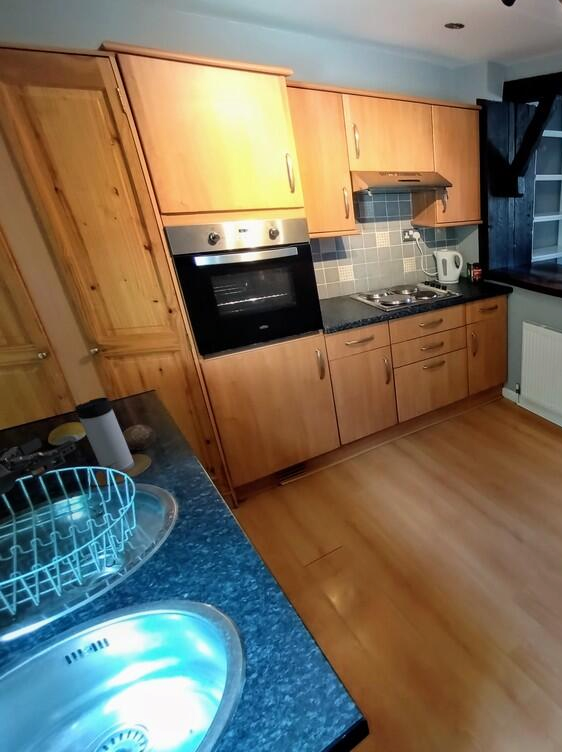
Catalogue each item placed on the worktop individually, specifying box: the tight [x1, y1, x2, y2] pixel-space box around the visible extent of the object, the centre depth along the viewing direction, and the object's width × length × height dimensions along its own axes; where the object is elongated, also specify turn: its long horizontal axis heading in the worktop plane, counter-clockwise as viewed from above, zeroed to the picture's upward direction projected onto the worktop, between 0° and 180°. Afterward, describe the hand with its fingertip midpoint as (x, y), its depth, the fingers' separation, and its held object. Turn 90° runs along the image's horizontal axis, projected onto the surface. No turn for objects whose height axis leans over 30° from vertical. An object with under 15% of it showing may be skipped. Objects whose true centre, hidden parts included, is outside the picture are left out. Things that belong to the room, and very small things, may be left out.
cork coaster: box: [86, 453, 152, 487], centre depth 117 cm, size 13×13×1 cm
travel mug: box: [74, 397, 134, 475], centre depth 113 cm, size 6×7×20 cm
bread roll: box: [47, 421, 86, 446], centre depth 130 cm, size 8×9×4 cm
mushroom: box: [122, 424, 158, 451], centre depth 126 cm, size 8×8×6 cm
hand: (56, 443), depth 101 cm, fingers open, 8 cm apart
